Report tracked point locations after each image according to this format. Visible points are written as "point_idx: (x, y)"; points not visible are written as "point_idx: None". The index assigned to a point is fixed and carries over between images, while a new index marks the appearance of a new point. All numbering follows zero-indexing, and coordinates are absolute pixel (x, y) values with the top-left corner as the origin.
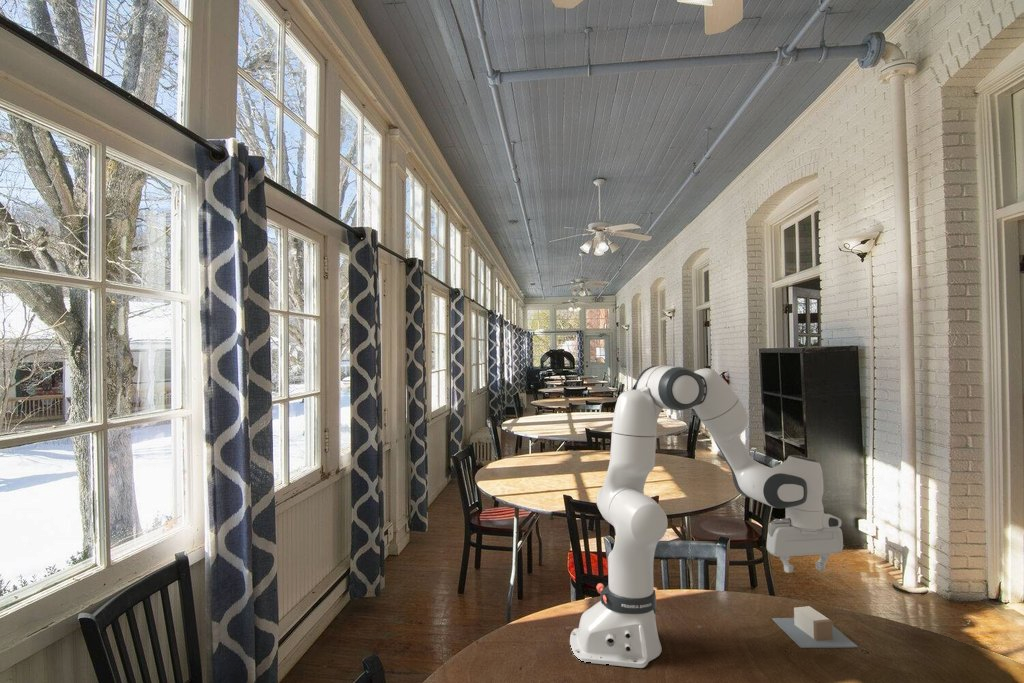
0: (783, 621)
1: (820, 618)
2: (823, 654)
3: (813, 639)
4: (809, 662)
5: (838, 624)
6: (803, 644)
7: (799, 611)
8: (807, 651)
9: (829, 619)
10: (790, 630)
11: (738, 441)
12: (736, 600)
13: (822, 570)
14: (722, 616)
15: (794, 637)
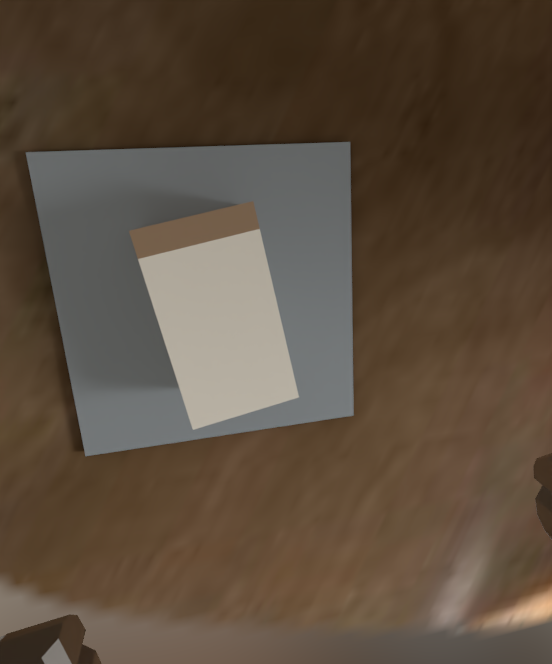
0: (315, 389)
1: (195, 265)
2: (256, 88)
3: None
4: (365, 9)
5: (25, 409)
6: (324, 166)
7: (287, 352)
8: (323, 120)
9: (138, 252)
10: (323, 303)
11: None
12: (422, 561)
13: (24, 630)
14: (540, 415)
15: (335, 235)
